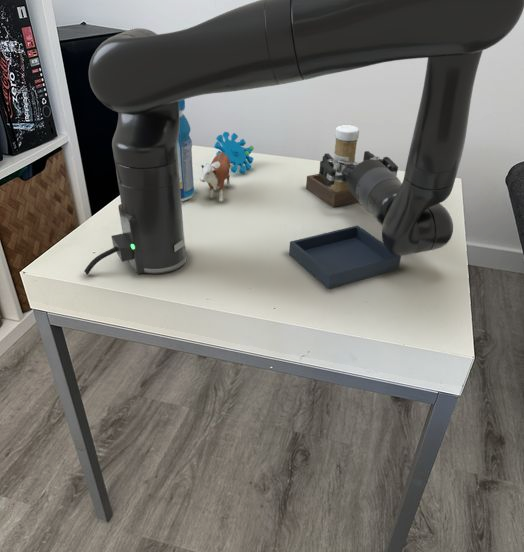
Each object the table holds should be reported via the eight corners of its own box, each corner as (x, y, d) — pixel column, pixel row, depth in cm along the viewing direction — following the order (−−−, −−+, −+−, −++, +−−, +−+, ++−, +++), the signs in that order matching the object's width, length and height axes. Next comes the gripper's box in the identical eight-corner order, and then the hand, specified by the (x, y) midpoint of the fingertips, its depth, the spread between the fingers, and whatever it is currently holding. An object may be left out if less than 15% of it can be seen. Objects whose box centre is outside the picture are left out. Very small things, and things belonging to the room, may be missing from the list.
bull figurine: (197, 207, 104) (195, 167, 99) (216, 182, 114) (215, 144, 109) (219, 210, 104) (217, 169, 98) (236, 184, 114) (235, 146, 109)
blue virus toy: (229, 173, 114) (210, 131, 114) (215, 186, 119) (197, 146, 119) (264, 167, 121) (247, 128, 121) (250, 180, 126) (233, 142, 126)
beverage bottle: (202, 197, 108) (196, 93, 95) (165, 206, 104) (154, 99, 91) (183, 184, 113) (175, 83, 101) (147, 192, 110) (134, 88, 97)
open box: (333, 207, 106) (334, 194, 104) (305, 188, 113) (306, 175, 111) (375, 198, 110) (377, 185, 108) (346, 180, 117) (347, 168, 115)
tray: (328, 288, 82) (329, 275, 81) (289, 254, 91) (289, 241, 89) (398, 268, 88) (401, 255, 86) (355, 237, 96) (357, 225, 94)
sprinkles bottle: (355, 194, 111) (364, 129, 102) (338, 199, 109) (346, 132, 100) (341, 187, 114) (349, 122, 105) (324, 191, 112) (331, 126, 103)
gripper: (417, 165, 93) (381, 136, 105) (341, 170, 90) (313, 139, 102) (408, 205, 98) (375, 173, 110) (336, 211, 95) (310, 177, 107)
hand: (345, 157), depth 106 cm, fingers open, 8 cm apart
